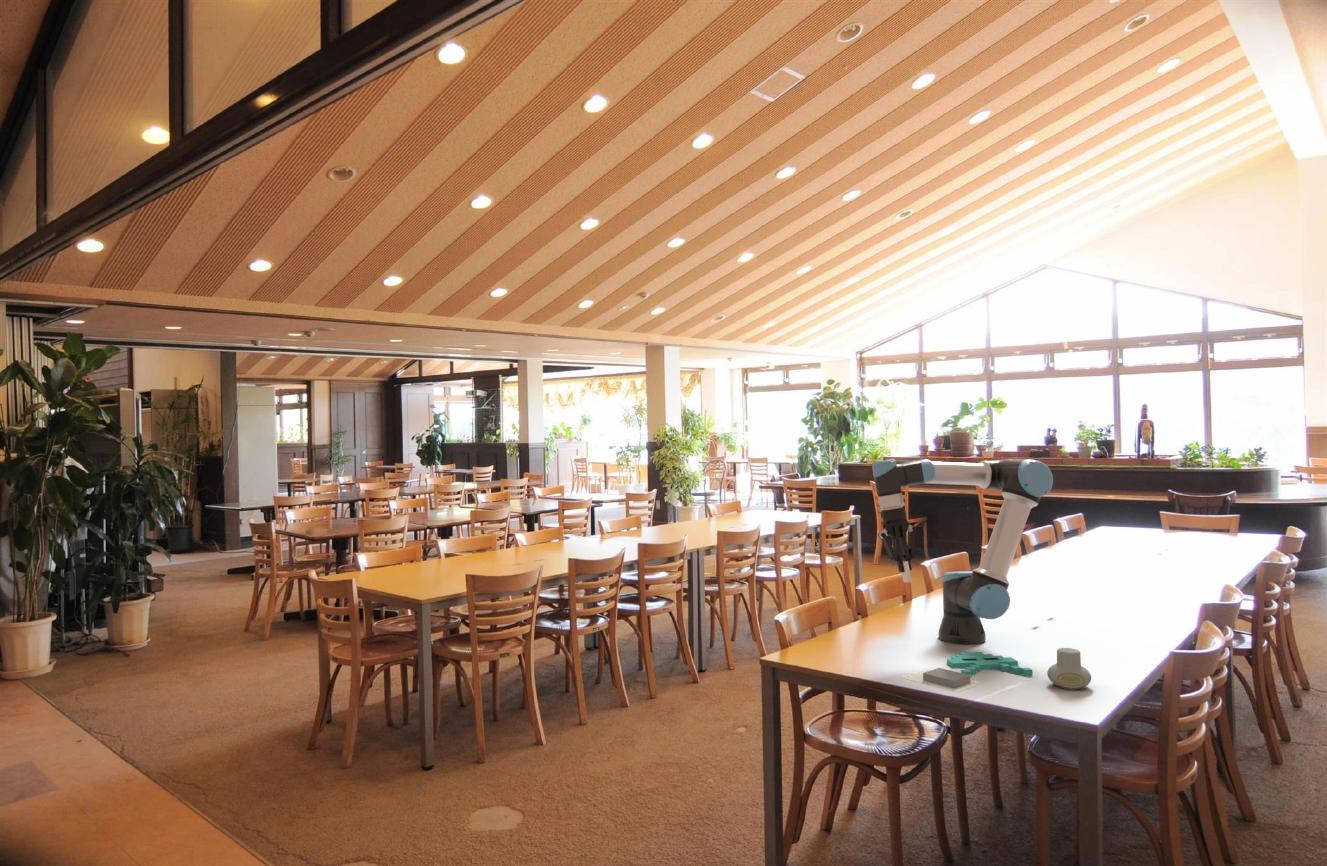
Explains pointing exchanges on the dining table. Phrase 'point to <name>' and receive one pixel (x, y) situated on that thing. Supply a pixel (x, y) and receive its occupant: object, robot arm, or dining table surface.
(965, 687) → the felt mat
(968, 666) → the alien figure
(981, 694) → the dining table surface
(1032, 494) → the robot arm
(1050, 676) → the air freshener
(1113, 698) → the dining table surface
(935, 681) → the slate tile
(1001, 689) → the dining table surface
